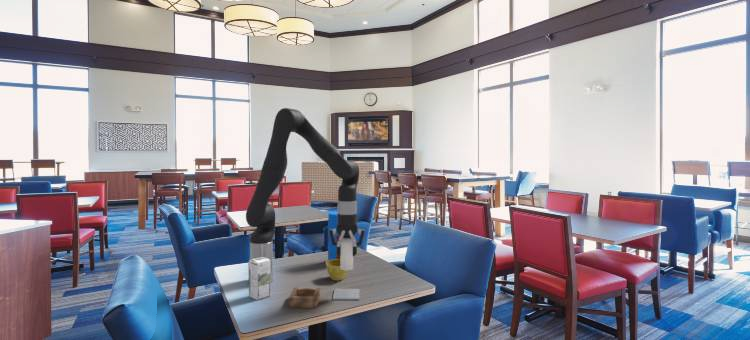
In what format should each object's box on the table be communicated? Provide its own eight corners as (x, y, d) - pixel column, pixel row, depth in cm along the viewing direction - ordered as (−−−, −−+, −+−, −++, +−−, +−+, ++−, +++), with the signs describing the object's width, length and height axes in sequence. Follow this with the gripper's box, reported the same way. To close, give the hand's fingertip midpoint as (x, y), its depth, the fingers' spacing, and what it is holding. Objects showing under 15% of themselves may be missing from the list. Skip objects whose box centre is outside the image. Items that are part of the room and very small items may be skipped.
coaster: (332, 300, 142) (332, 298, 142) (334, 290, 152) (334, 288, 152) (359, 300, 142) (359, 298, 142) (359, 290, 152) (359, 288, 152)
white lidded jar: (339, 270, 144) (339, 239, 143) (340, 266, 149) (340, 236, 148) (353, 270, 144) (353, 239, 143) (353, 266, 149) (354, 236, 149)
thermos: (353, 261, 191) (354, 212, 190) (341, 267, 182) (341, 215, 181) (336, 258, 197) (337, 210, 196) (323, 263, 188) (323, 213, 187)
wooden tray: (288, 307, 134) (288, 297, 134) (293, 296, 144) (294, 287, 144) (316, 307, 135) (316, 298, 135) (320, 296, 145) (320, 287, 144)
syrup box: (261, 292, 148) (261, 256, 147) (270, 296, 144) (270, 259, 144) (248, 296, 144) (248, 259, 143) (257, 300, 140) (257, 262, 139)
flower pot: (340, 284, 159) (340, 267, 159) (321, 279, 164) (321, 263, 163) (353, 277, 168) (353, 261, 167) (334, 273, 173) (334, 258, 172)
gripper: (327, 213, 141) (327, 258, 142) (365, 213, 142) (365, 258, 143) (329, 210, 149) (329, 253, 150) (365, 210, 149) (365, 253, 150)
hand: (346, 255), depth 146 cm, fingers closed on white lidded jar, 5 cm apart
